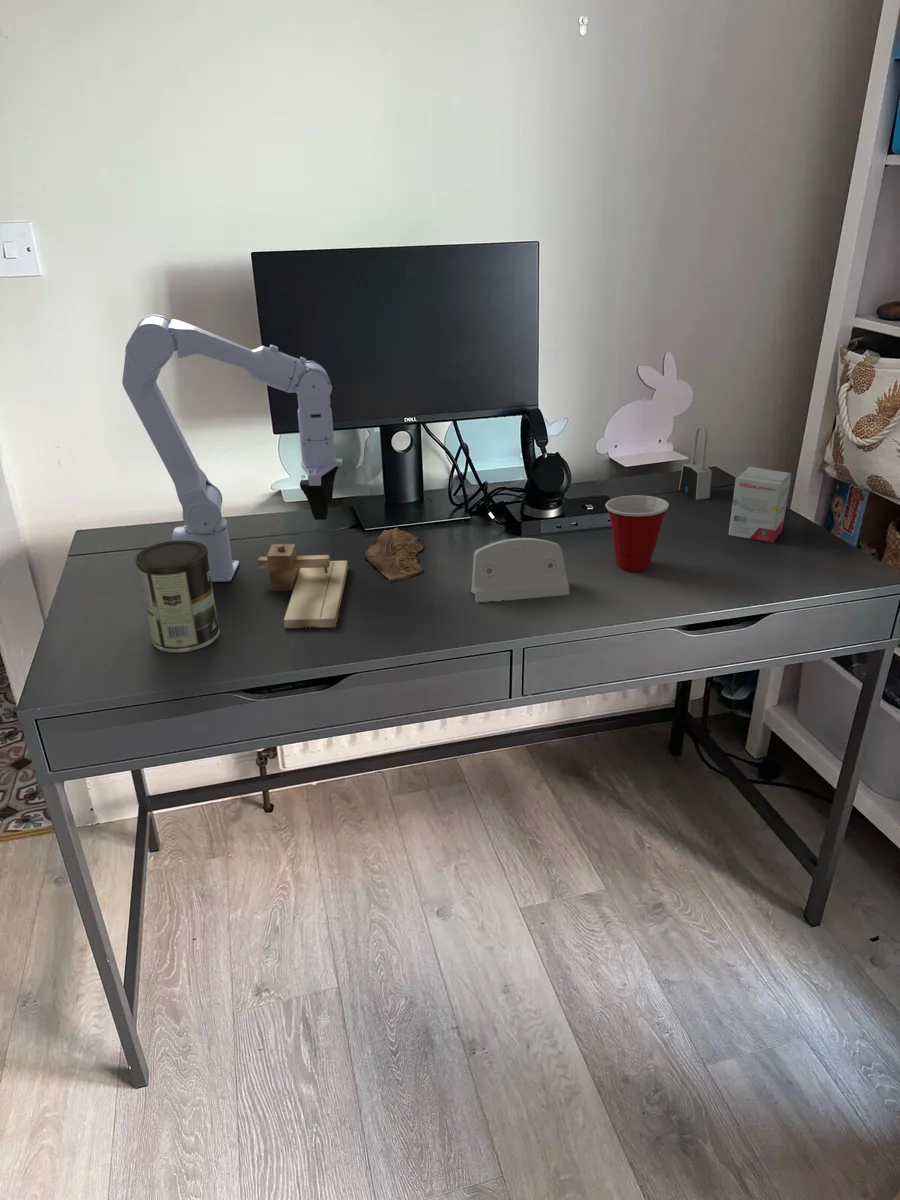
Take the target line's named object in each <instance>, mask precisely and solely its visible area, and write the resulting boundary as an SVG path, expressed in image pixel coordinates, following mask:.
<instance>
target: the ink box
mask: <svg viewBox="0 0 900 1200" xmlns="http://www.w3.org/2000/svg"><path fill="white" fill-rule="evenodd" d="M791 479H792V473H791V472H786V471H779V470H772V469H767V468H760V467H754V466H747V468H745V469H744V470H743V471H742V472H740V473H739V474H738V475H737V476H736V478H735V481H734V489H733V490H734V491H733V496H732V497H733V498H732V504H731V512H730V513H731V514H730V520H729V527H728V528H729V529H728V536H731V537H732V536H733V537H737V538H742V539H743V538H744V539H750V540H755V541H762V542H766V543H771V544H773V543H774V542H775V541H776V539H777V538H778V537H779V536H780V534H781V533H782V531H783V527H784V526H783V525H784V520H785V516H786V509H787V503H788V498H789V497H788V496H789V491H790V486H791V485H790V484H791Z"/></svg>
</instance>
